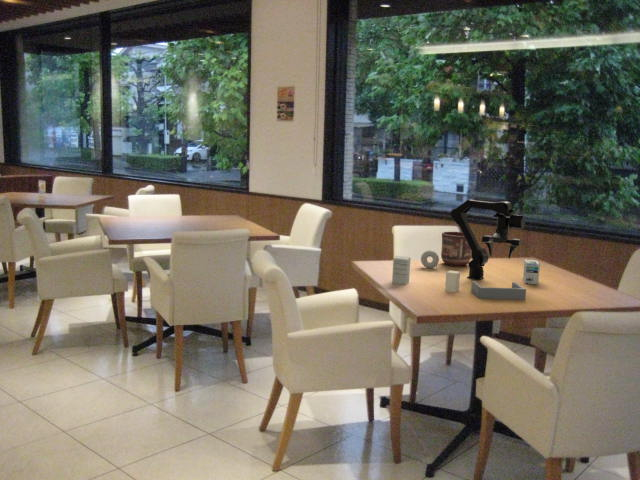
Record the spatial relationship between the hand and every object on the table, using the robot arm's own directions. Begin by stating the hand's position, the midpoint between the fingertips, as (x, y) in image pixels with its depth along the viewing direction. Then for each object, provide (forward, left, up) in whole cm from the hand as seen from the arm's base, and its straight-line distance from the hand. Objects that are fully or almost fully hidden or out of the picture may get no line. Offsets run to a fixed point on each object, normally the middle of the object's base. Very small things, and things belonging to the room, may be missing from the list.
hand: (500, 257), depth 318 cm
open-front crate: (+15, -24, -13) cm, 31 cm away
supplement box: (-28, -43, -13) cm, 53 cm away
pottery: (-40, +20, -13) cm, 47 cm away
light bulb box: (+9, +16, -13) cm, 23 cm away
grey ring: (-42, -2, -13) cm, 44 cm away
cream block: (-3, -35, -13) cm, 37 cm away
